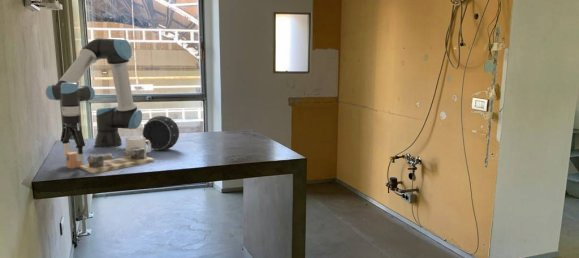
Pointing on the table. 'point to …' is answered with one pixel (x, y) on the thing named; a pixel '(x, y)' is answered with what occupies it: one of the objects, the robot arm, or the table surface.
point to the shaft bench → (115, 161)
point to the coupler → (72, 160)
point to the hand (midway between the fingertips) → (73, 158)
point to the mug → (138, 144)
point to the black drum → (161, 132)
